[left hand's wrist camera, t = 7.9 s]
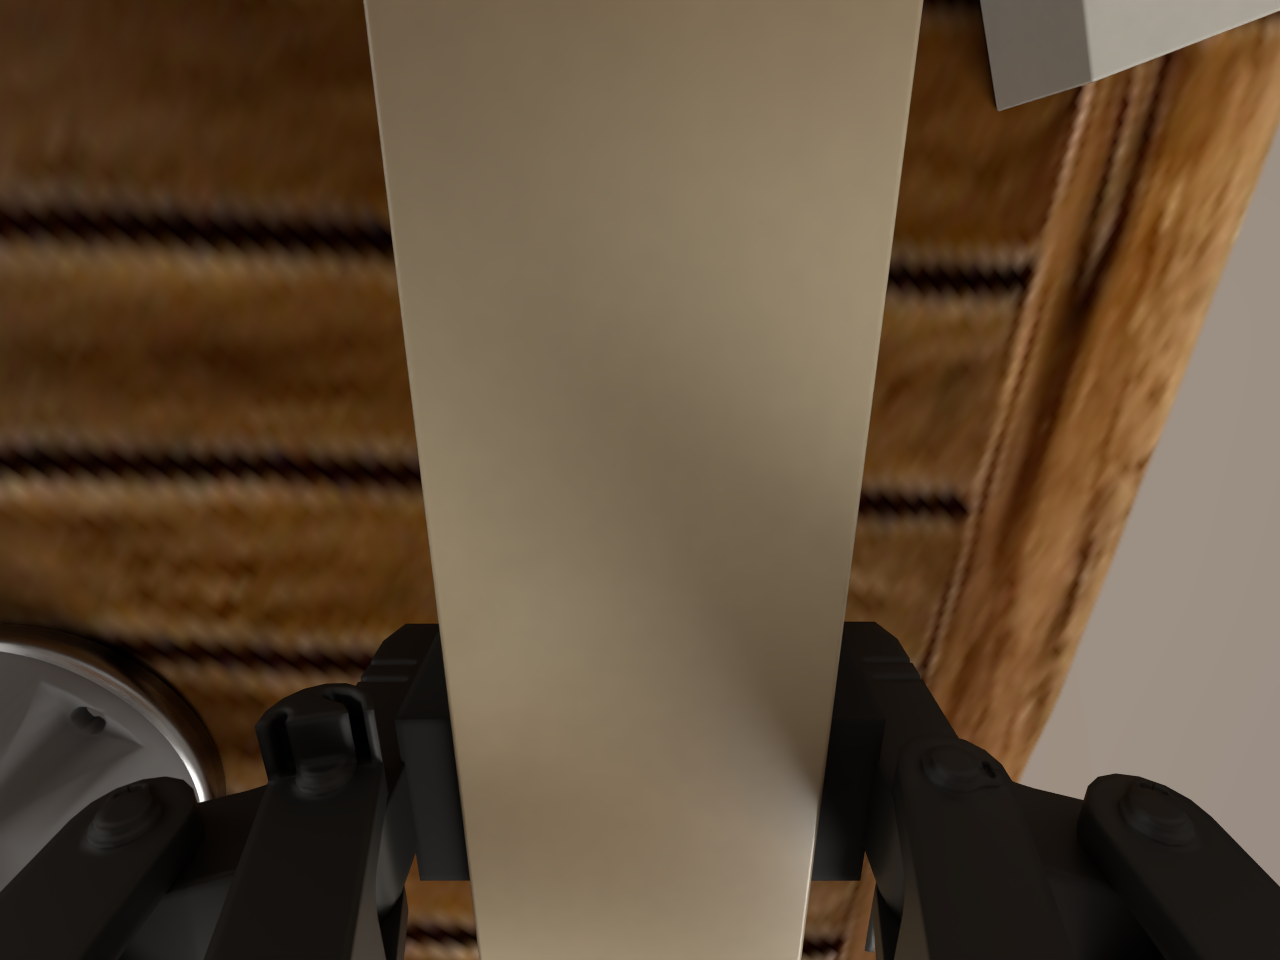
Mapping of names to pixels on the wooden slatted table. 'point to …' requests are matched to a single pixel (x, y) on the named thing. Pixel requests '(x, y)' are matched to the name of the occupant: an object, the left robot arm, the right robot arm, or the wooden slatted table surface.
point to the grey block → (1095, 38)
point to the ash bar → (641, 436)
